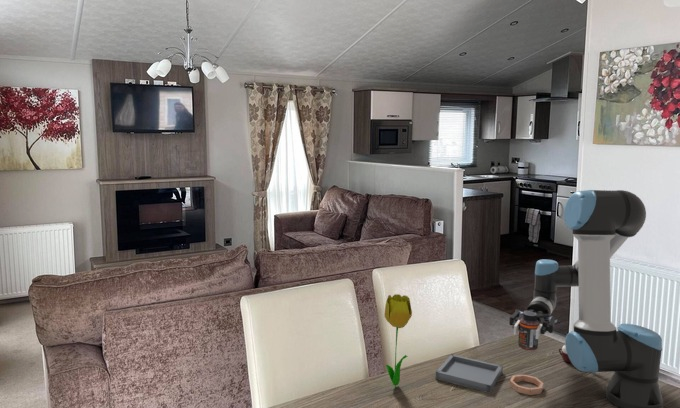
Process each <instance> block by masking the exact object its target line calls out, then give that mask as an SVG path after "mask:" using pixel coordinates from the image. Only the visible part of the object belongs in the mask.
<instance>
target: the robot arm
mask: <svg viewBox="0 0 680 408" xmlns="http://www.w3.org/2000/svg"><path fill="white" fill-rule="evenodd" d="M646 218H647V210H646V206H645V204H644V202H643V200H642V199H641V198H640V197H639V196H637V195H636V193H633V192H630V191H628V190H622V189H619V190H605V189H604V190H603V189H602V190H596V189H594V190H593V189H588V190H585V189H584V190H578V191H575V192H574V193H572V194H571V195H569V198H568V199H567V200H566V204H565V206H564V212H563V219H564V222H565V225H566V227H567V228H568V229H570V230H572V236H573V237H574V238H575V239H576V240H577V259H578V260H577V261H576V262H575V263H574V264H573V265H559V263H558V262H557V261H556V260H553V259H543V258H542V259H539V260H537V261H536V262H535V269H534V287H533V297H532V298H533V299H532V301H530V303H529V305H528V306H527V308H526V309H525V310H523V311H521V310H519V309H517V308H516V309H515V312H513V313H512V315H510V316H509V321H508V322H509V326H511V327H512V329H513V331H512V332H513V333H512V335H515V336H516V335H517V334H518V333H519V323H520V319H521V318H523V313H524V312H526V311H530V312H534V313H536V314H537V318H536V319H537V320H538V321H539V326H538V328H537V330H536V339H538V340H539V339H540V336H541V335H546V333H547V332H548V333H550V334H553V332H554V328H555V326H556V325H557V324H558V316H556V315H554V316H551V315H552V314H553V312H554V310H555V308H556V307H557V304H558V299H557V298H558V297H557V288H560V287H563V288H564V287H571V288H572V287H578V320H576V321H575V322H574V323H573V328H572V329H573V330H572V331H570V332H568V333H567V334H566V336H565V342H564V345H565V346H566V351H567V354H568V357H569V359H570V361H571V363H570V364H572V366H574V368H576V369H577V370H578V371H580V372H582V373H593V374H594V373H606V372H609V373H610V372H613V375H612V377H611V379H610V380H609V383H608V384H607V386H606V389H605V390H606V392H605V397H606V399H607V400H608V401H609V402H610V404H611V403H612V405H614V406H616V407H618V408H664V398H663V394H662V392H661V388H660V385H659V377H660V367H661V359H662V358H661V357H662V351H663V344H662V343H663V339H662V337H661V335H660V334H659V333H658V332H656V331H654V330H652V329H650V328H648V327H644V326H641V325H637V324H632V323H620V324H619V325H618V327H616V325H614V324H613V322H612V321H611V308H612V307H611V258H612V257H613V256H614V255H615V253H616V252H618V250H619V249H620V248H621V247H622V246H623V244H624V243H625V242H626V241H627V240H628V238H632V237H635V236H636V235H637V234H638V233H639V232H640V230H641V229H642V228H643V226H644V224H645V222H646V220H647V219H646ZM548 322H549V323H548ZM547 323H548V325H547Z"/></svg>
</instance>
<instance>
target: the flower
mask: <svg viewBox="0 0 680 408" xmlns="http://www.w3.org/2000/svg"><path fill="white" fill-rule="evenodd" d="M386 298H387V299H386V301H385V307H384V318H385V320H386V322H388V324H389V325H391V326H392V327H394V328H396V329H395V348H397V346H398V345H397V344H398V333H399V329H403V328H405V326H407V324H409V321H410V319H411V318H412V316H413V309H412V305H411V300H410V298H409V296H408V295H406V294H405V295H401V294H400V293H399V294H394V295H391V294H389V295H388V296H387V297H386ZM394 355H395V356H394V369H393V367H392V366H390V365H389V364H386V365H385V367H386V368H387V373H388V375H389V377H390V380H391V383H392V385H393V386H394V387H395V388H396V387H397V386H398V385H399V384H400V381H401V379H400V378H401V366H402V363H403V360H405V359H406V358H407V357H408V355H406V354H405V355H404V356H402V358H401V359H399V361H398V362H397V350H395V354H394Z"/></svg>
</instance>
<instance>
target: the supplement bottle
mask: <svg viewBox="0 0 680 408" xmlns="http://www.w3.org/2000/svg"><path fill="white" fill-rule="evenodd" d="M536 318H537V314H536V313H534V312H530V311H526V312H524V313H523V318H521V319H520V323H519V331H518V340H517V341H518V342H517V344H518V347H519V348H520V349H521V350H525V351H535V350H537V349H538V347H539V339H536V330H537V328H538V326H539V321H538V320H537V319H536Z"/></svg>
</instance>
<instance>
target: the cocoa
mask: <svg viewBox="0 0 680 408" xmlns="http://www.w3.org/2000/svg"><path fill="white" fill-rule="evenodd" d="M558 352H559V354H560V355H561V357H562V359H563V360H564V362H565V363H568V364H572V363H571V361H570V359H569V357H568V354H567V351H566V346H565V344H564V345H563V346H562V348H559V349H558Z"/></svg>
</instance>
